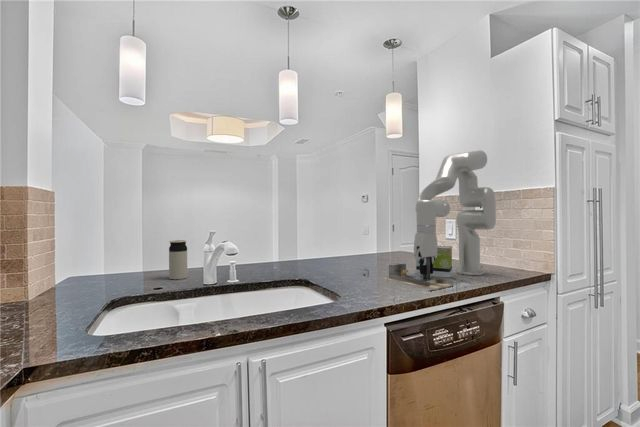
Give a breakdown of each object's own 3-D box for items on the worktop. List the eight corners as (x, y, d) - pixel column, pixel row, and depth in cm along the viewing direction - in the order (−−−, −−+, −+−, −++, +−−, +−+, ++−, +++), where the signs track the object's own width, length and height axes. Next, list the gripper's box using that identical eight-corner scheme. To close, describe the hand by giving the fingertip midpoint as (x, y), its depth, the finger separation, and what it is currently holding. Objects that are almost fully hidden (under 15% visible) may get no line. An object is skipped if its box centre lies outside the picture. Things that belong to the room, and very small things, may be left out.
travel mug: (190, 276, 157) (190, 240, 157) (181, 280, 149) (181, 241, 149) (175, 276, 158) (174, 240, 158) (165, 279, 150) (165, 241, 150)
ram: (415, 277, 142) (414, 252, 142) (438, 282, 132) (438, 254, 132) (403, 279, 138) (403, 253, 138) (427, 284, 128) (426, 256, 128)
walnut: (404, 277, 145) (404, 268, 145) (411, 278, 141) (411, 269, 141) (398, 278, 143) (398, 269, 143) (405, 279, 139) (405, 270, 139)
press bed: (403, 277, 152) (403, 261, 152) (453, 287, 130) (453, 269, 130) (382, 280, 144) (382, 264, 144) (431, 292, 122) (431, 273, 122)
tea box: (415, 277, 151) (415, 246, 151) (419, 273, 160) (419, 244, 160) (450, 280, 144) (449, 247, 144) (452, 276, 153) (452, 245, 153)
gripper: (431, 228, 140) (431, 270, 140) (405, 229, 131) (406, 274, 131) (446, 229, 134) (446, 273, 134) (420, 230, 125) (420, 277, 125)
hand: (426, 273), depth 132 cm, fingers closed on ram, 3 cm apart
